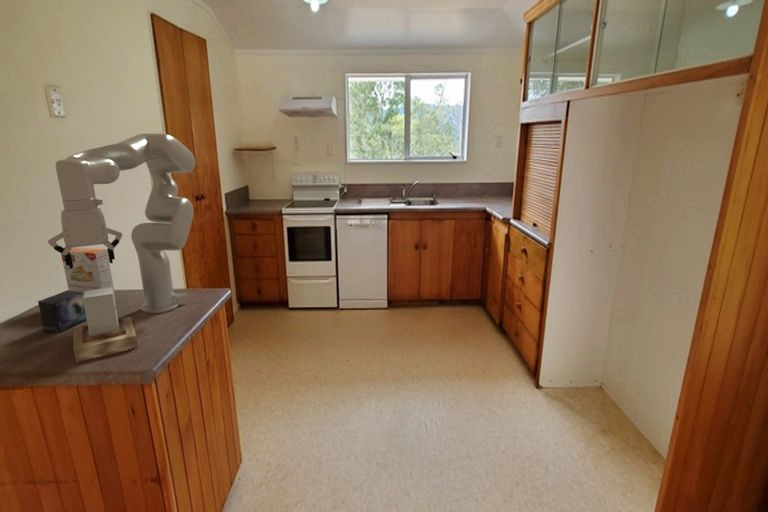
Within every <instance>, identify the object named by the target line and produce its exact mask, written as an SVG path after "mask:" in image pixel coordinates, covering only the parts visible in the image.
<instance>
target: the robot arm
mask: <svg viewBox="0 0 768 512" xmlns="http://www.w3.org/2000/svg"><path fill="white" fill-rule="evenodd" d="M144 163H146V166H147V169H148V171H149V173H150V176H151V180H152V187H151V191H150V194H149V197H148V200H147V203H146V206H145V209H144V210H145V211H144V214H145V217H146V219H147V220H148V221H150V222H143V223H139V224H137V225H135V226H134V227H133V228H132V230H131V234H130V235H131V236H130V237H131V242H132V244H133V247H134V248H135V251H136V255H137V259H138V265H139V270H140V278H141V284H142V291H143V296H144V303H143V304H142V305H141V306H140V309H141V311H142V312H143V313H147V314H160V313H167V312H170V311H172V310H174V309H176V308H178V307H179V306H180V305H181V304H180V300H185V299H189V294H188V293H186V292H185V293H183V292H179V293H175V291H174V287H173V286H174V285H173V278H172V272H171V264H170V263H171V262H170V258H169V256H168V254H167V253H166V251H180V250H181V249H183V248H184V247H185V245H186V243H187V240H188V236H189V233H190V230H191V227H192V222H193V218H194V206H193V203H192V202H191V201H190V199H188V198H186V197H184V196H183V197H182V196H178V193H179V187H178V184H177V182H176V181H175V179H174V178H173V177H172V175H170V174H189V173H192V171H194V170H195V167H196V160H195V156H194V154H193V152H192V151H190V150H189V149H188V148H187V146H185V144H183V143H182V142H180V141H179V139H177V138H175V137H174V136H172V135H170V134H167V133H139V134H136V135H133V136H131V137H130V138H127V139H125V140H122V141H119V142H117V143H113V144H108V145H104V146H103V145H102V146H100V147H95V148H90V149H86V150H85V149H84V150H83V151H80V152H76V153H75V154H72V155H70V156H68V157H66V158H65V159H58V160H56V162H55V171H56V176H57V181H58V186H59V190H60V195H61V201H62V205H63V210H61V211H60V222H61V230H62V232H60V233H58V234H56V235H54V236H53V237H51V238H49V239H48V241H47V243H48V245H49V246H51V247H52V249H54V250H55V251H57V252H58V253H60V254H61V253H62V254H63V255H64V257H65V262H66V266H68V265H69V266H70V269H72V268H73V262H72V257H71V253H70V252H69V251H70V250H71V249H72V248H73V247H75V248H82V247H89V246H90V247H91V246H96V245H97V246H98V245H104V246H106V248H107V249H106V250H107V253H108V259H109V264H113V260H116V257H115V251H114V250H115V249H116V246H118V244H119V243H120V241H121V240H122V237H123V233H122V232H120V231H118V230H116V229H112V228H109V227H107V224H106V219H105V216H104V213H103V211H102V208H101V207H99V206H101V205H103V204H104V202H103V199H98V198H97V197H96V190H95V186H94V185H109V184H112V183H114V182H116V181H117V180H118V178H119V177H120V174H121V173H120V172H121V171H128V170H133V169H136V168H137V167H139V166H140V165H143V164H144ZM109 235H112V236H115V237H114V239H113V240H112V242H110V241H109ZM61 239H63V241H64V243H65V244H64V245H65V246H64V247H63V246H61V245H59V244H58V243H57V242H58V241H60V240H61Z"/></svg>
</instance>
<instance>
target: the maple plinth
mask: <svg viewBox="0 0 768 512" xmlns="http://www.w3.org/2000/svg"><path fill="white" fill-rule="evenodd" d="M118 322H119V331H115V332H110V333H105V334H101V335H96V336H91V337H90V334H89V329H88V324H84V325H81V326H77V327H73V340H72V341H73V346H72V347H73V354H74V358H75V359H74V360H75V363H79V361H80V362H84V361H87V360H92V359H96V358H101V357H104V356H103V355H105V356H109V355H112V354H116V353H120V352H125V351H129V350H128V349H130V350H133V349H132V348H134V349H136V348H135V347H138V348H139V345H138V339H137V334H136V331H135V327H134V323H133V321H132V317H131V316H128V317H120V318H119V317H118ZM108 354H109V355H108ZM91 358H92V359H91ZM83 360H84V361H83Z"/></svg>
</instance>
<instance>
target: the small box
mask: <svg viewBox="0 0 768 512" xmlns="http://www.w3.org/2000/svg"><path fill="white" fill-rule="evenodd" d="M37 303H38V308H39V313H40V316H41V318H40V319H41V322H42V327H43V331H44V332H48V333H55V334H59V333H62V332H64V331H67V330H68V329H71V328H74V327H76V326H78V325H80V324H82V323H85V322H87V321H86V320H87V319H86V313H85V308H84V303H83V293H82V292H76V291H69V289H68V290H65V291H63V292H59V293H57V294H54V295H51V296H48V297H46V298H43V299H41V300H40V299H39V300H38V301H37Z"/></svg>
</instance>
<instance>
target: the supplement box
mask: <svg viewBox="0 0 768 512" xmlns="http://www.w3.org/2000/svg"><path fill="white" fill-rule="evenodd" d="M113 287H114V286H113ZM113 287H108V288H101V289H95V290H88V291H84V295H83V303H84V308H85V313H86V319H87V321H86V323H87V324H86V325H88V329H89V334H90V337H91V336H96V335H101V334H105V333H110V332H115V331H119V322H118V319H119V317H118V311H117V306H116V305H117V304H116V301H115V298H116V297H115V298H114V293H115V291H114V292H113Z"/></svg>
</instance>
